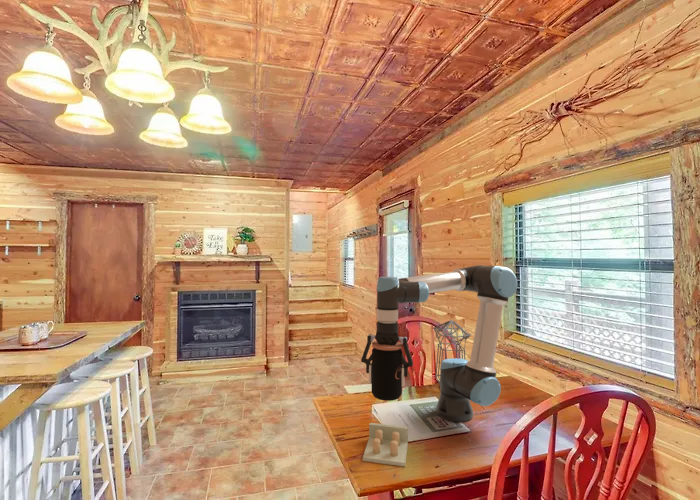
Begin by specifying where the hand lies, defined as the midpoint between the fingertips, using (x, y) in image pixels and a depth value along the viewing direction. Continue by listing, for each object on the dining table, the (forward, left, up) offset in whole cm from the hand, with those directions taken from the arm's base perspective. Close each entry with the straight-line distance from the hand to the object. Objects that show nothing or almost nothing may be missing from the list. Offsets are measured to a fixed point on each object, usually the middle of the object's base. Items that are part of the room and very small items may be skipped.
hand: (386, 384), depth 123 cm
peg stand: (0, 0, -23) cm, 23 cm away
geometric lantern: (-25, -61, -24) cm, 70 cm away
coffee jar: (0, 0, -4) cm, 4 cm away
